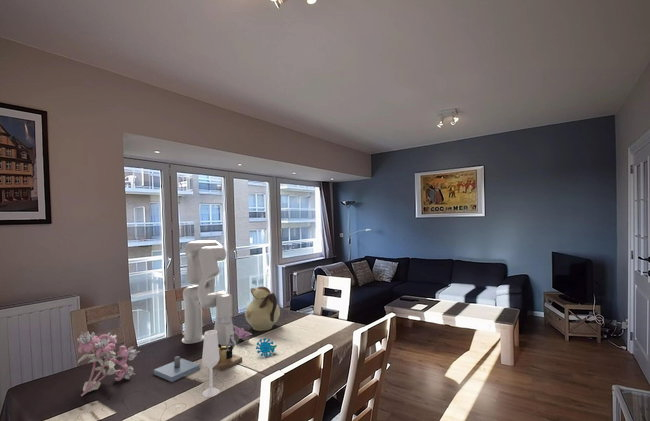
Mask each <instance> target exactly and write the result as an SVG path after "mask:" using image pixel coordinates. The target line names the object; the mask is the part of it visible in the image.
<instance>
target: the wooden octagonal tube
mask: <svg viewBox="0 0 650 421" xmlns="http://www.w3.org/2000/svg"><path fill="white" fill-rule="evenodd" d="M221 346H222V347H219V357H220V359H219V361H218V362H226V361H229V360H231V358H230V359H228V360H227V359H226V351H227V348H226V346H223V345H221ZM229 347H230V345H229Z"/></svg>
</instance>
